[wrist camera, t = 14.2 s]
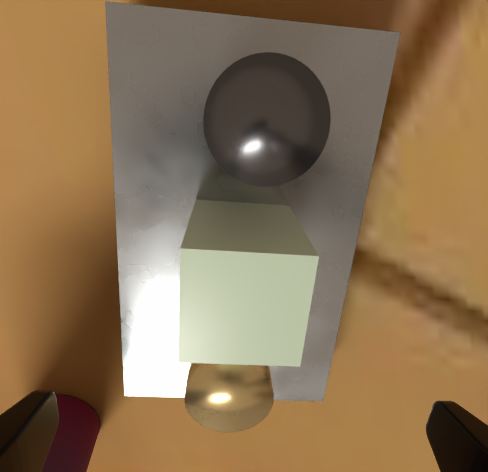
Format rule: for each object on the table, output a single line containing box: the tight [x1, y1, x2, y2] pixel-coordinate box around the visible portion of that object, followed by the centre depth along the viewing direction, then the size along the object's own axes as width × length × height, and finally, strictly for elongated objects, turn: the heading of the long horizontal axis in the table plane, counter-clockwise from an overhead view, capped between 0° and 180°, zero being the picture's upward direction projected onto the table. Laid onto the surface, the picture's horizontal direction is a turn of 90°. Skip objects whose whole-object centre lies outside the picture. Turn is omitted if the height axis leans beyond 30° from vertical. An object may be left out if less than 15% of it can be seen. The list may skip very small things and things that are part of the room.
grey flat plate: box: [105, 1, 400, 401], centre depth 19 cm, size 12×20×2 cm, turn 175°
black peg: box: [203, 52, 331, 187], centre depth 13 cm, size 4×4×6 cm
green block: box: [178, 199, 319, 367], centre depth 15 cm, size 4×4×6 cm
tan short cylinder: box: [185, 363, 274, 432], centre depth 19 cm, size 4×4×3 cm
